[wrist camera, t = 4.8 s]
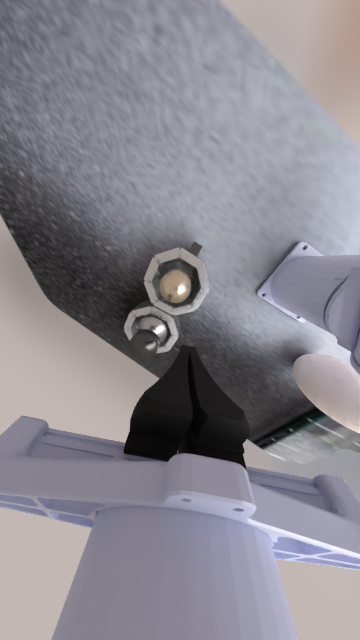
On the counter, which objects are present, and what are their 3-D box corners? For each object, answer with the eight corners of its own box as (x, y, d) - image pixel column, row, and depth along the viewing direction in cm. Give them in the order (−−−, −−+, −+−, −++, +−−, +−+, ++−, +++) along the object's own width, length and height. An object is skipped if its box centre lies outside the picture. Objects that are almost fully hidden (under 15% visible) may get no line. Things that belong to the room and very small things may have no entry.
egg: (279, 375, 27) (338, 453, 16) (282, 346, 24) (356, 418, 13) (321, 371, 25) (415, 452, 15) (329, 339, 22) (455, 412, 12)
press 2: (127, 332, 25) (116, 344, 21) (145, 290, 21) (136, 297, 17) (164, 349, 26) (159, 364, 22) (187, 313, 22) (186, 324, 19)
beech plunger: (200, 274, 19) (203, 279, 14) (184, 301, 20) (182, 313, 16) (171, 257, 18) (166, 257, 14) (157, 287, 20) (148, 294, 15)
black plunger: (134, 333, 21) (119, 352, 17) (144, 310, 19) (131, 324, 15) (159, 345, 22) (152, 367, 17) (172, 324, 20) (167, 342, 16)
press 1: (220, 261, 18) (227, 262, 15) (187, 312, 22) (187, 323, 18) (171, 230, 17) (166, 223, 14) (145, 289, 21) (136, 296, 17)
